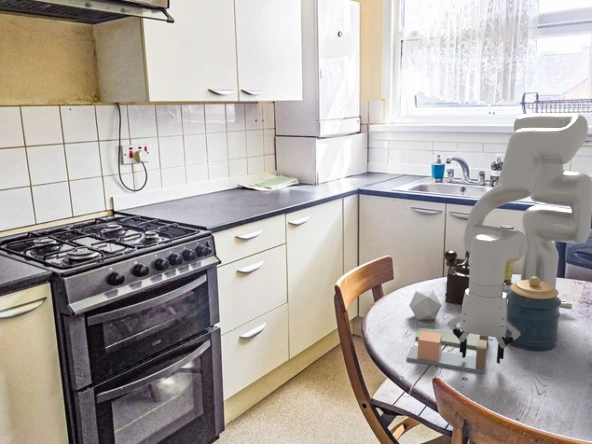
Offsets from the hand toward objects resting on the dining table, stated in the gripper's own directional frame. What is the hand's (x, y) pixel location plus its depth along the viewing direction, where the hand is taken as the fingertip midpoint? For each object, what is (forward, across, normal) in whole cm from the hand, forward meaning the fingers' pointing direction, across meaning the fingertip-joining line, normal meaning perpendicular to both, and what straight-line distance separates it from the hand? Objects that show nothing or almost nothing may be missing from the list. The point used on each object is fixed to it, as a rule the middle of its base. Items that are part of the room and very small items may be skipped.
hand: (481, 357), depth 124 cm
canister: (+3, -11, -19) cm, 22 cm away
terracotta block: (+2, +12, 0) cm, 12 cm away
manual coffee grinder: (+3, +8, -40) cm, 41 cm away
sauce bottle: (+3, -3, -63) cm, 63 cm away
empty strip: (+2, +8, -12) cm, 15 cm away
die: (+3, +17, -24) cm, 30 cm away
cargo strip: (+2, +8, 0) cm, 8 cm away
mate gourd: (+3, +11, -57) cm, 58 cm away
